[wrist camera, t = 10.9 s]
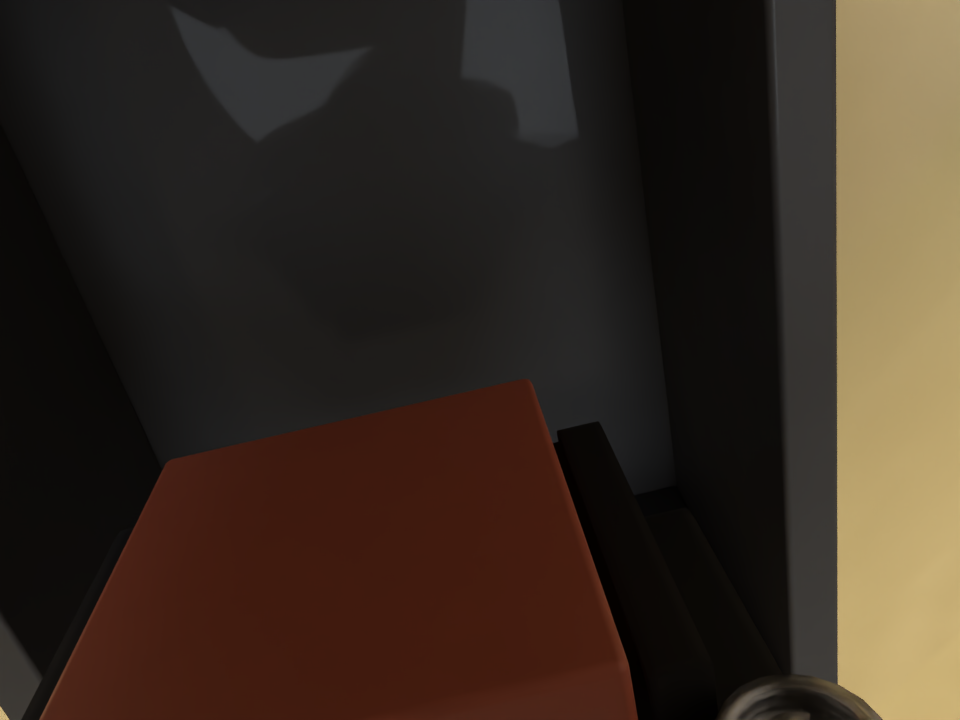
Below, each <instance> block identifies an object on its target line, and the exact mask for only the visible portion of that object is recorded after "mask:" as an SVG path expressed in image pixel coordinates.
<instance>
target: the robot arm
mask: <svg viewBox="0 0 960 720" xmlns="http://www.w3.org/2000/svg"><path fill="white" fill-rule="evenodd" d="M557 437H558V442H555V443H553V445H554V448H555V451H556V454H557V457H558V460H559V463H560V466H561V469H562V471H563V474H564V477H565V480H566V483H567V486H568V489H569V492H570V495H571V498H572V501H573V503H574V506H575V509H576V512H577V515H578V518H579V521H580V524H581V527H582V530H583V532H584V535H585V538H586V541H587V544H588V547H589V550H590V553H591V556H592V559H593V562H594V564H595V567H596V570H597V573H598V576H599V579H600V582H601V585H602V588H603V591H604V593H605V596H606V599H607V602H608V605H609V608H610V611H611V614H612V617H613V620H614V623H615V625H616V628H617V631H618V634H619V637H620V640H621V643H622V646H623V649H624V652H625V654H626V657H627V660H628V663H629V668H630V674H631V680H632V686H633V692H634V698H635V704H636V710H637V716H638V720H883V719H882V718H881V717H880V716H879V715H878V714H877V713H876V712H875V711H874V710H873V709H872V708H871V707H870V706H869V705H868V704H867V703H866V702H865V701H864V700H863V699H861V698H860V697H858V696H856V695H855V694H853V693H851V692H850V691H848V690H846V689H845V688H843V687H841V686H840V685H838V684H835V683H832V682H829V681H826V680H823V679H820V678H817V677H814V676H808V675H798V674H787V673H784V674H782V672H781V670H780V668H779V667H778V665H777V663H776V661H775V660H774V658H773V656H772V654H771V653H770V651H769V649H768V647H767V645H766V644H765V642H764V640H763V638H762V637H761V635H760V633H759V631H758V629H757V628H756V626H755V624H754V622H753V621H752V619H751V617H750V615H749V614H748V612H747V610H746V608H745V606H744V605H743V603H742V601H741V599H740V598H739V596H738V594H737V592H736V590H735V589H734V587H733V585H732V583H731V582H730V580H729V578H728V576H727V574H726V573H725V571H724V569H723V567H722V566H721V564H720V562H719V560H718V559H717V557H716V555H715V553H714V551H713V550H712V548H711V546H710V544H709V543H708V541H707V539H706V537H705V535H704V534H703V532H702V530H701V528H700V527H699V525H698V523H697V521H696V519H695V518H694V516H693V515H692V513H691V512H690V510H688V509H687V508H685V507H684V508H680V509H676V510H671V511H667V512H662V513H658V514H654V515H649V516H645V517H644V515H643V513H642V511H641V509H640V507H639V505H638V502H637V500H636V498H635V496H634V494H633V492H632V490H631V488H630V485H629V483H628V481H627V479H626V477H625V475H624V473H623V470H622V468H621V466H620V464H619V462H618V460H617V458H616V456H615V453H614V451H613V449H612V447H611V445H610V443H609V441H608V438H607V436H606V434H605V432H604V430H603V428H602V426H601V424H600V422H599V421H596V422H592V423H587V424H583V425H579V426H574V427H570V428H565V429H561V430H557ZM133 529H134V527H133V528H129V529H125V530H122V531H120V532H119V534H118V535H117V536H116V538H115V540H114V542H113V544H112V546H111V547H110V549H109V551H108V553H107V555H106V557H105V559H104V561H103V563H102V565H101V567H100V569H99V571H98V573H97V574H96V576H95V578H94V580H93V582H92V584H91V586H90V588H89V590H88V592H87V594H86V596H85V598H84V600H83V601H82V603H81V605H80V607H79V609H78V611H77V613H76V615H75V617H74V619H73V621H72V623H71V625H70V626H69V628H68V630H67V632H66V634H65V636H64V638H63V640H62V642H61V644H60V646H59V648H58V650H57V652H56V653H55V655H54V657H53V659H52V661H51V663H50V665H49V667H48V669H47V671H46V673H45V675H44V677H43V679H42V680H41V682H40V684H39V686H38V688H37V690H36V692H35V694H34V696H33V698H32V700H31V702H30V704H29V706H28V707H27V709H26V711H25V713H24V715H23V717H22V719H21V720H39V719H40V717H41V715H42V713H43V711H44V709H45V707H46V705H47V703H48V701H49V699H50V697H51V695H52V693H53V691H54V689H55V687H56V685H57V683H58V681H59V679H60V677H61V675H62V673H63V671H64V669H65V667H66V665H67V662H68V660H69V658H70V656H71V654H72V652H73V650H74V648H75V646H76V644H77V642H78V640H79V638H80V636H81V634H82V632H83V630H84V628H85V626H86V624H87V622H88V620H89V618H90V616H91V614H92V612H93V610H94V608H95V606H96V604H97V602H98V600H99V598H100V596H101V594H102V592H103V590H104V588H105V586H106V583H107V581H108V579H109V577H110V575H111V573H112V571H113V569H114V567H115V565H116V563H117V561H118V559H119V557H120V555H121V553H122V551H123V549H124V547H125V545H126V543H127V541H128V539H129V537H130V535H131V533H132V531H133Z"/></svg>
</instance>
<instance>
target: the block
mask: <svg viewBox="0 0 960 720" xmlns="http://www.w3.org/2000/svg"><path fill="white" fill-rule="evenodd" d="M39 720H638V716H637V710H636V704H635V698H634V692H633V686H632V680H631V674H630V668H629V663H628V660H627V657H626V654H625V652H624V649H623V646H622V643H621V640H620V637H619V634H618V631H617V628H616V625H615V623H614V620H613V617H612V614H611V611H610V608H609V605H608V602H607V599H606V596H605V593H604V591H603V588H602V585H601V582H600V579H599V576H598V573H597V570H596V567H595V564H594V562H593V559H592V556H591V553H590V550H589V547H588V544H587V541H586V538H585V535H584V532H583V530H582V527H581V524H580V521H579V518H578V515H577V512H576V509H575V506H574V503H573V501H572V498H571V495H570V492H569V489H568V486H567V483H566V480H565V477H564V474H563V471H562V469H561V466H560V463H559V460H558V457H557V454H556V451H555V448H554V445H553V442H552V440H551V437H550V434H549V431H548V428H547V425H546V422H545V419H544V416H543V413H542V410H541V408H540V405H539V402H538V399H537V396H536V393H535V390H534V387H533V384H532V383H531V382H530V380H529V379H520V380H516V381H511V382H507V383H503V384H498V385H494V386H490V387H485V388H481V389H476V390H472V391H468V392H463V393H459V394H455V395H450V396H446V397H442V398H437V399H433V400H428V401H424V402H420V403H415V404H411V405H407V406H402V407H398V408H393V409H389V410H385V411H380V412H376V413H372V414H367V415H363V416H359V417H354V418H350V419H345V420H341V421H337V422H332V423H328V424H324V425H319V426H315V427H311V428H306V429H302V430H297V431H293V432H289V433H284V434H280V435H276V436H271V437H267V438H263V439H258V440H254V441H249V442H245V443H241V444H236V445H232V446H228V447H223V448H219V449H214V450H210V451H206V452H201V453H197V454H193V455H188V456H184V457H180V458H175V459H172V460H170V461H168V462H167V463H166V464H165V466H164V468H163V470H162V472H161V474H160V476H159V478H158V480H157V482H156V484H155V486H154V488H153V490H152V492H151V494H150V496H149V498H148V500H147V502H146V504H145V507H144V509H143V511H142V513H141V515H140V517H139V519H138V521H137V523H136V525H135V527H134V529H133V531H132V533H131V535H130V537H129V539H128V541H127V543H126V545H125V547H124V549H123V551H122V553H121V555H120V557H119V559H118V561H117V563H116V565H115V567H114V569H113V571H112V573H111V575H110V577H109V579H108V581H107V583H106V586H105V588H104V590H103V592H102V594H101V596H100V598H99V600H98V602H97V604H96V606H95V608H94V610H93V612H92V614H91V616H90V618H89V620H88V622H87V624H86V626H85V628H84V630H83V632H82V634H81V636H80V638H79V640H78V642H77V644H76V646H75V648H74V650H73V652H72V654H71V656H70V658H69V660H68V662H67V665H66V667H65V669H64V671H63V673H62V675H61V677H60V679H59V681H58V683H57V685H56V687H55V689H54V691H53V693H52V695H51V697H50V699H49V701H48V703H47V705H46V707H45V709H44V711H43V713H42V715H41V717H40V719H39Z"/></svg>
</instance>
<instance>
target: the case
mask: <svg viewBox="0 0 960 720" xmlns="http://www.w3.org/2000/svg"><path fill="white" fill-rule="evenodd" d="M520 379H529V380H530V382H531V383H532V384H533V387H534V390H535V393H536V396H537V399H538V402H539V405H540V408H541V410H542V413H543V416H544V419H545V422H546V425H547V428H548V431H549V434H550V437H551V440H552V442H553V443H555V442H558V437H557V430H561V429H565V428H570V427H574V426H579V425H583V424H587V423H592V422H596V421H599V422H600V424H601V426H602V428H603V430H604V432H605V434H606V436H607V438H608V441H609V443H610V445H611V447H612V449H613V451H614V453H615V456H616V458H617V460H618V462H619V464H620V466H621V468H622V470H623V473H624V475H625V477H626V479H627V481H628V483H629V485H630V488H631V490H632V492H633V494H634V496H635V498H636V500H637V502H638V505H639V507H640V509H641V511H642V513H643V515H644V517H645V516H649V515H654V514H658V513H662V512H667V511H671V510H676V509H680V508H684V507H685V508H687V509H688V510H690V512H691V513H692V515H693V516H694V518H695V519H696V521H697V523H698V525H699V527H700V528H701V530H702V532H703V534H704V535H705V537H706V539H707V541H708V543H709V544H710V546H711V548H712V550H713V551H714V553H715V555H716V557H717V559H718V560H719V562H720V564H721V566H722V567H723V569H724V571H725V573H726V574H727V576H728V578H729V580H730V582H731V583H732V585H733V587H734V589H735V590H736V592H737V594H738V596H739V598H740V599H741V601H742V603H743V605H744V606H745V608H746V610H747V612H748V614H749V615H750V617H751V619H752V621H753V622H754V624H755V626H756V628H757V629H758V631H759V633H760V635H761V637H762V638H763V640H764V642H765V644H766V645H767V647H768V649H769V651H770V653H771V654H772V656H773V658H774V660H775V661H776V663H777V665H778V667H779V668H780V670H781V672H782V674H784V673H787V674H798V675H808V676H814V677H817V678H820V679H823V680H826V681H829V682H832V683H835V684H838V677H837V280H836V0H0V706H1V708H2V709H3V711H4V712H5V713H6V715H7V716H8V718H9V719H10V720H21V719H22V717H23V715H24V713H25V711H26V709H27V707H28V706H29V704H30V702H31V700H32V698H33V696H34V694H35V692H36V690H37V688H38V686H39V684H40V682H41V680H42V679H43V677H44V675H45V673H46V671H47V669H48V667H49V665H50V663H51V661H52V659H53V657H54V655H55V653H56V652H57V650H58V648H59V646H60V644H61V642H62V640H63V638H64V636H65V634H66V632H67V630H68V628H69V626H70V625H71V623H72V621H73V619H74V617H75V615H76V613H77V611H78V609H79V607H80V605H81V603H82V601H83V600H84V598H85V596H86V594H87V592H88V590H89V588H90V586H91V584H92V582H93V580H94V578H95V576H96V574H97V573H98V571H99V569H100V567H101V565H102V563H103V561H104V559H105V557H106V555H107V553H108V551H109V549H110V547H111V546H112V544H113V542H114V540H115V538H116V536H117V535H118V534H119V532H120V531H122V530H125V529H129V528H133V527H135V525H136V523H137V521H138V519H139V517H140V515H141V513H142V511H143V509H144V507H145V504H146V502H147V500H148V498H149V496H150V494H151V492H152V490H153V488H154V486H155V484H156V482H157V480H158V478H159V476H160V474H161V472H162V470H163V468H164V466H165V464H166V463H167V462H168V461H170V460H172V459H175V458H180V457H184V456H188V455H193V454H197V453H201V452H206V451H210V450H214V449H219V448H223V447H228V446H232V445H236V444H241V443H245V442H249V441H254V440H258V439H263V438H267V437H271V436H276V435H280V434H284V433H289V432H293V431H297V430H302V429H306V428H311V427H315V426H319V425H324V424H328V423H332V422H337V421H341V420H345V419H350V418H354V417H359V416H363V415H367V414H372V413H376V412H380V411H385V410H389V409H393V408H398V407H402V406H407V405H411V404H415V403H420V402H424V401H428V400H433V399H437V398H442V397H446V396H450V395H455V394H459V393H463V392H468V391H472V390H476V389H481V388H485V387H490V386H494V385H498V384H503V383H507V382H511V381H516V380H520Z"/></svg>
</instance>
